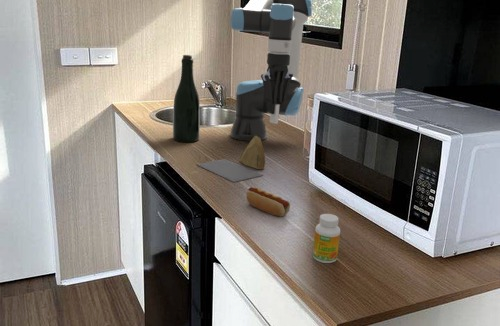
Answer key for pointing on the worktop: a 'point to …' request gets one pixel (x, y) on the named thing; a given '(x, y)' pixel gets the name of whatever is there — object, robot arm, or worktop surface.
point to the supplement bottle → (326, 239)
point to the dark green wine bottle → (186, 105)
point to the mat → (229, 170)
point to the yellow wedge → (254, 154)
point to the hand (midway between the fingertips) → (273, 122)
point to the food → (267, 202)
